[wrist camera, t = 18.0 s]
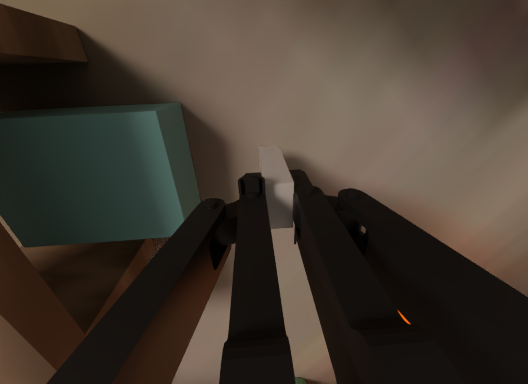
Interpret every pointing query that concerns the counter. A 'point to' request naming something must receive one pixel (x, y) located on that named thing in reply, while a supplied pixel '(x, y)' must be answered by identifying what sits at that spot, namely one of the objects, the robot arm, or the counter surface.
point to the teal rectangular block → (95, 173)
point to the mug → (300, 380)
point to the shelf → (53, 257)
